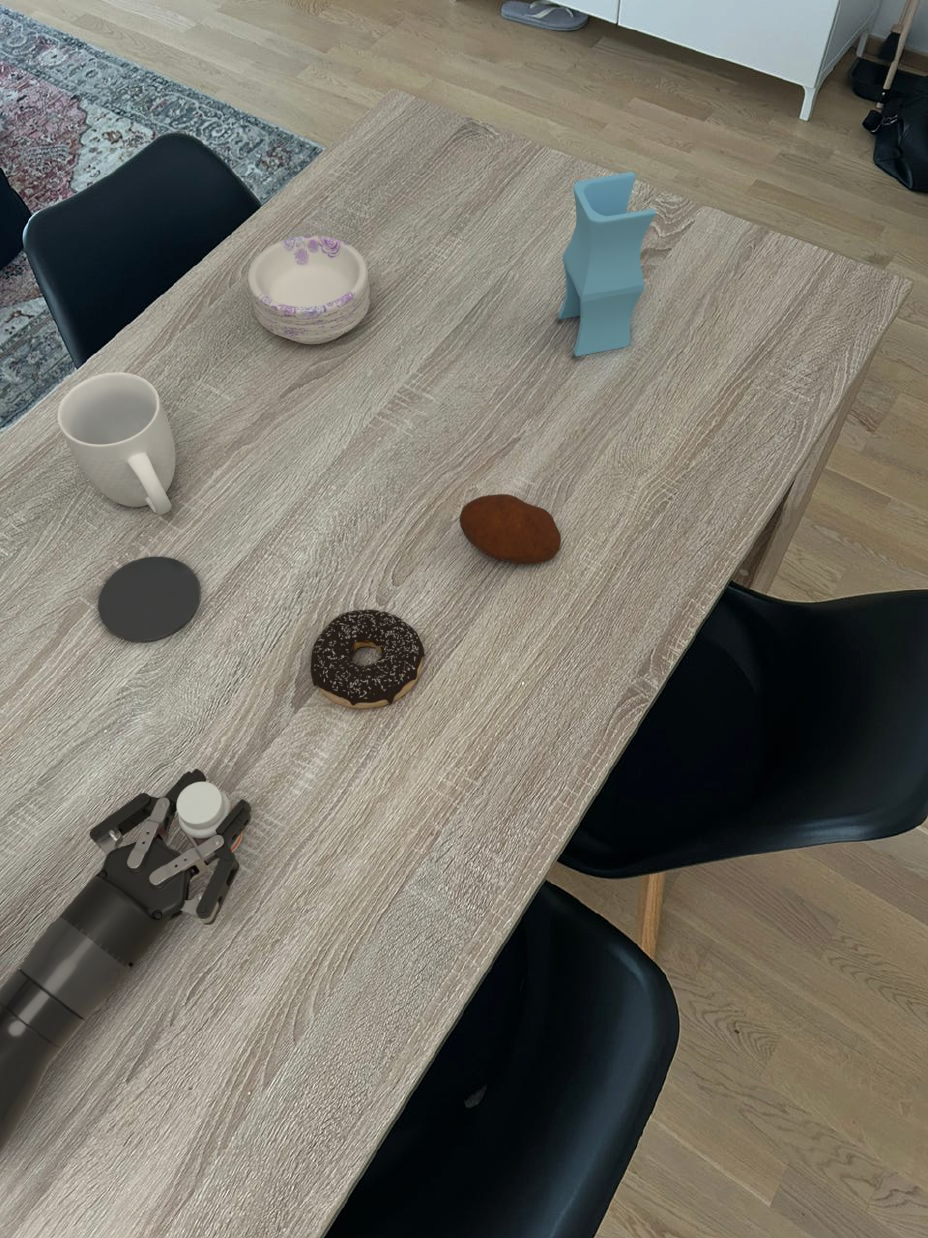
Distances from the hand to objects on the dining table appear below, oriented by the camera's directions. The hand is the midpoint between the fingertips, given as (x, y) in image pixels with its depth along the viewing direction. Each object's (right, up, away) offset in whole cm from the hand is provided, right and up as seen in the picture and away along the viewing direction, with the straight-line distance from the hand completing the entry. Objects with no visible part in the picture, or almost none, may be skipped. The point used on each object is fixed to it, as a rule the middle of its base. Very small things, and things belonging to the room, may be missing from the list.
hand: (224, 789), depth 95 cm
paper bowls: (+2, +55, +43) cm, 70 cm away
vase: (+39, +53, +42) cm, 78 cm away
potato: (+27, +23, +23) cm, 42 cm away
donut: (+12, +10, +15) cm, 22 cm away
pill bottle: (-1, -5, +4) cm, 7 cm away
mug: (-16, +30, +28) cm, 44 cm away
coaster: (-13, +18, +20) cm, 29 cm away
